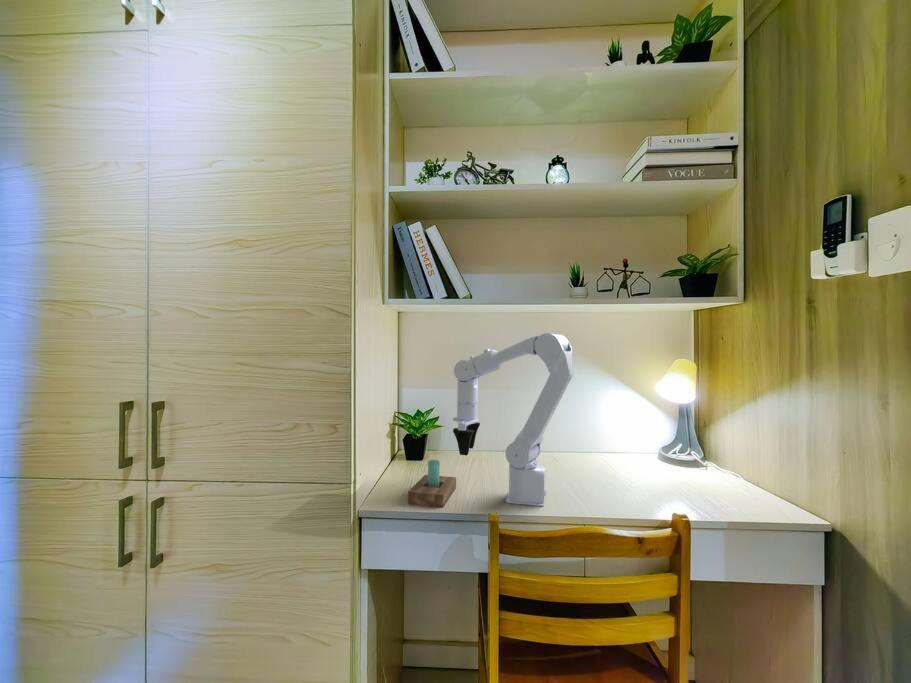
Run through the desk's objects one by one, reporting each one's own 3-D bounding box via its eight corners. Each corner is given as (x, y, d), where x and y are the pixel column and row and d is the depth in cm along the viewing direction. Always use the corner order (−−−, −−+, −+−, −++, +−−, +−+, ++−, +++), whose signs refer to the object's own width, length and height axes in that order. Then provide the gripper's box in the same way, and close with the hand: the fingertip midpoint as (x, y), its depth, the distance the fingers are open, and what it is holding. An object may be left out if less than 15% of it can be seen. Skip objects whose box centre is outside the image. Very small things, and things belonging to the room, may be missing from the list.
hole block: (455, 488, 117) (456, 477, 117) (443, 507, 103) (443, 495, 103) (424, 485, 119) (425, 474, 119) (408, 503, 105) (408, 491, 105)
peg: (440, 494, 112) (440, 460, 112) (437, 498, 109) (437, 463, 109) (429, 493, 113) (430, 459, 113) (426, 497, 110) (426, 462, 110)
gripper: (459, 398, 126) (458, 444, 126) (447, 405, 112) (446, 457, 112) (482, 399, 125) (481, 445, 125) (473, 407, 111) (472, 459, 111)
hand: (466, 451), depth 118 cm, fingers open, 7 cm apart
